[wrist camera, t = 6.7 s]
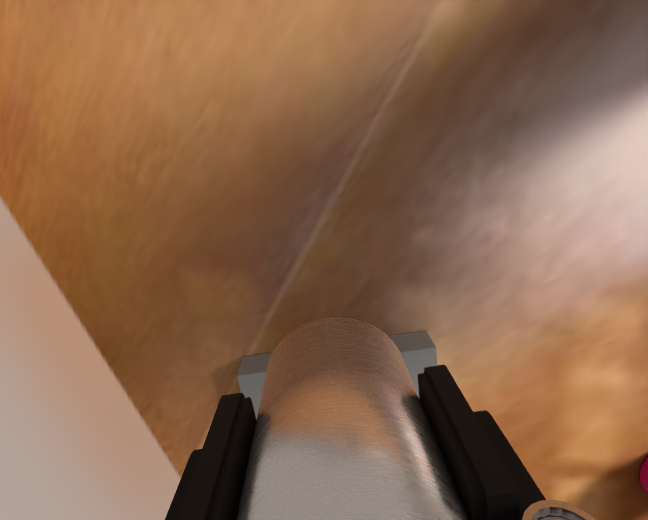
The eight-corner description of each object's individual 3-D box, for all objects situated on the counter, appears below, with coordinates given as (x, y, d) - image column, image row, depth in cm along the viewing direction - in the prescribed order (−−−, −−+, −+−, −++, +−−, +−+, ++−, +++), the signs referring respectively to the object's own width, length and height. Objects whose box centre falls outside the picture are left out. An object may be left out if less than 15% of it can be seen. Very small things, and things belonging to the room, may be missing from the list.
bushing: (253, 327, 12) (142, 674, 4) (399, 307, 12) (562, 622, 4) (279, 444, 13) (232, 868, 6) (410, 427, 13) (547, 833, 5)
